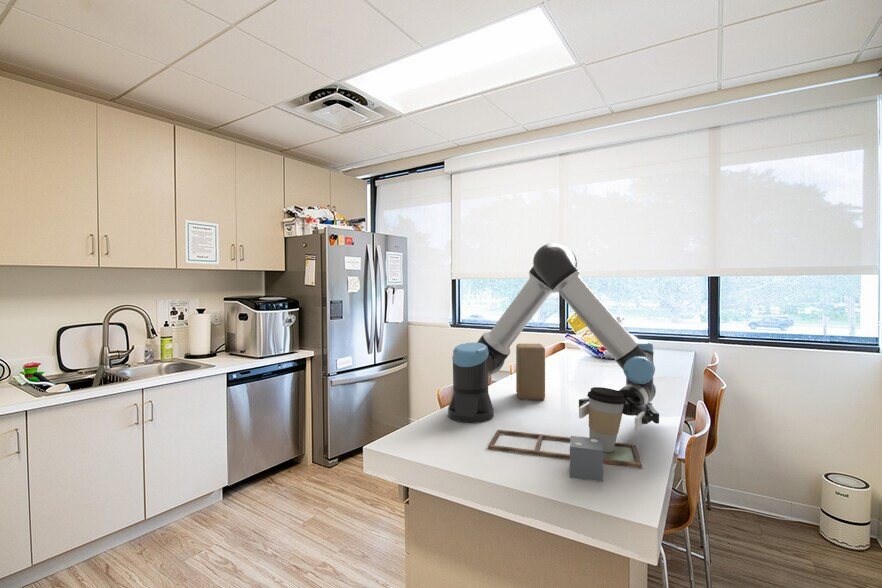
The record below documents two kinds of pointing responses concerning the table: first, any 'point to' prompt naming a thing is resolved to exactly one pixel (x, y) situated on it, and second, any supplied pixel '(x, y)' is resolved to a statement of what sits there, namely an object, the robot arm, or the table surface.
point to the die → (586, 458)
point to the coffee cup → (605, 415)
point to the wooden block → (530, 371)
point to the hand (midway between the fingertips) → (607, 418)
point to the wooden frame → (616, 457)
